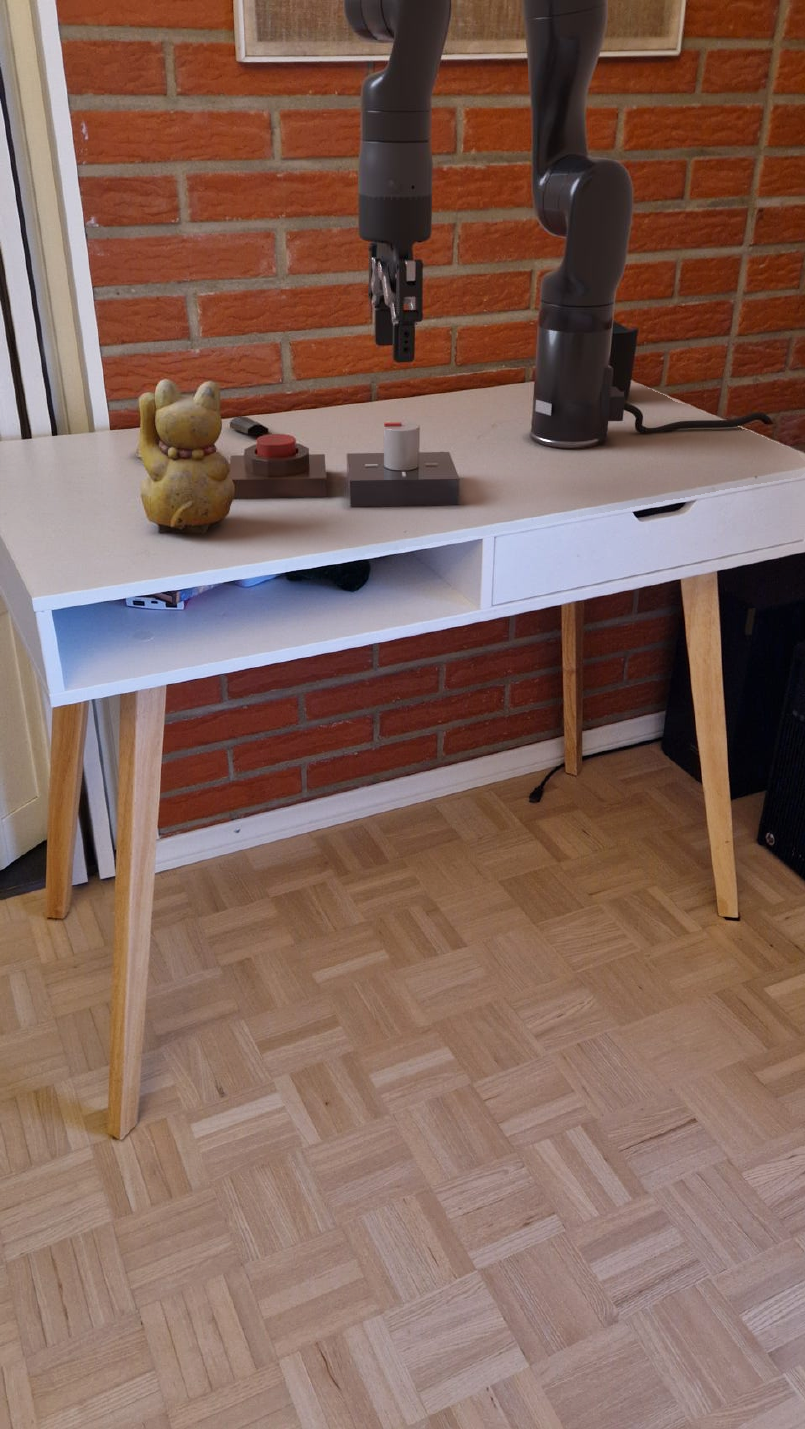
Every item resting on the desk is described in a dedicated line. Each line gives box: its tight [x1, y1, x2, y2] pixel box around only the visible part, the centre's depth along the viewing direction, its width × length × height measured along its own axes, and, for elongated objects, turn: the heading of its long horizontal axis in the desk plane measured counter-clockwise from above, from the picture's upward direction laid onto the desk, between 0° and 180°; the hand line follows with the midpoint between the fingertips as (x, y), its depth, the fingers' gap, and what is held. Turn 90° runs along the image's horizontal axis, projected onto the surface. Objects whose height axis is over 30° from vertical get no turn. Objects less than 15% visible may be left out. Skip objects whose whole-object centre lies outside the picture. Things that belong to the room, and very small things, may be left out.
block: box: [229, 415, 269, 435], centre depth 154 cm, size 4×6×2 cm, turn 33°
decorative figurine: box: [138, 378, 235, 535], centre depth 120 cm, size 10×8×15 cm
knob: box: [383, 420, 421, 471], centre depth 132 cm, size 4×4×5 cm
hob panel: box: [346, 451, 461, 508], centre depth 134 cm, size 12×10×3 cm
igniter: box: [228, 442, 328, 499], centre depth 135 cm, size 11×9×4 cm
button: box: [256, 433, 297, 458], centre depth 134 cm, size 4×4×2 cm
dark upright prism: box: [609, 320, 640, 401], centre depth 169 cm, size 9×9×10 cm
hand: (393, 353), depth 128 cm, fingers open, 8 cm apart
